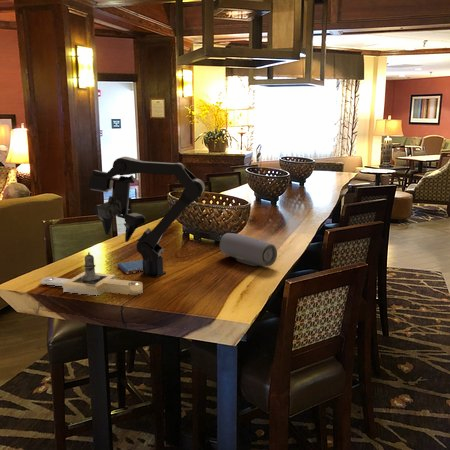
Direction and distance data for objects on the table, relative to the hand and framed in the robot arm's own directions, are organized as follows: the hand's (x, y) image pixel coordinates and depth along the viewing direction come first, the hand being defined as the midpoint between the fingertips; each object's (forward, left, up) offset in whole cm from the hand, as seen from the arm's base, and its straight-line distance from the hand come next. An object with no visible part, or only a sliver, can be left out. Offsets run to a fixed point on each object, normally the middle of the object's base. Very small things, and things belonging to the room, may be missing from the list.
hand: (116, 238), depth 169 cm
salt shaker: (-2, +15, -13) cm, 20 cm away
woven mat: (-1, -8, -14) cm, 16 cm away
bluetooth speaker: (-33, -34, -13) cm, 49 cm away
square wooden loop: (-8, +14, -13) cm, 21 cm away
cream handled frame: (+4, +17, -13) cm, 22 cm away
